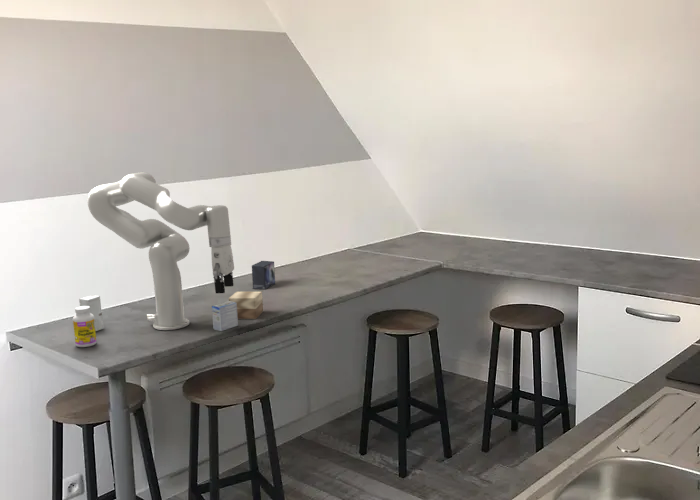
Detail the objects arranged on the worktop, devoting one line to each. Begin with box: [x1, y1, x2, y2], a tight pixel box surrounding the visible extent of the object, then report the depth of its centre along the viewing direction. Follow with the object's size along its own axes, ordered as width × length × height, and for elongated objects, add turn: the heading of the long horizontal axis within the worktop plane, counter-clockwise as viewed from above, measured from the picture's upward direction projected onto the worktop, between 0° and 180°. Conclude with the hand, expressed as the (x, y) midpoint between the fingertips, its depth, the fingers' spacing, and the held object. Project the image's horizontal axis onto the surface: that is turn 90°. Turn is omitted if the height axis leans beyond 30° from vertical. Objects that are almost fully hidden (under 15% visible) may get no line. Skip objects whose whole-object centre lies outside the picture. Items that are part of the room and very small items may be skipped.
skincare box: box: [78, 295, 104, 332], centre depth 253 cm, size 6×4×12 cm
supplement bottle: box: [72, 305, 97, 348], centre depth 237 cm, size 7×7×13 cm
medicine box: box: [211, 300, 239, 332], centre depth 251 cm, size 8×4×9 cm, turn 141°
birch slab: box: [228, 291, 264, 309], centre depth 266 cm, size 10×10×4 cm
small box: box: [251, 260, 276, 290], centre depth 309 cm, size 11×6×10 cm, turn 161°
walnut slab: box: [237, 302, 264, 320], centre depth 266 cm, size 10×10×4 cm
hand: (224, 289), depth 249 cm, fingers open, 9 cm apart
